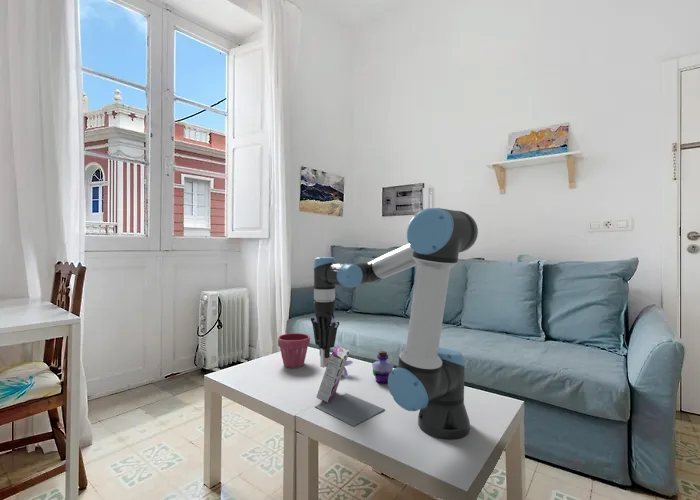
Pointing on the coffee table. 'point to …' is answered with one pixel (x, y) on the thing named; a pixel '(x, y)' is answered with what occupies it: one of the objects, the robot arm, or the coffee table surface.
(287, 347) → the plant pot
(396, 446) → the coffee table surface
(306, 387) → the coffee table surface
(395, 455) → the coffee table surface
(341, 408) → the mat
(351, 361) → the water lily
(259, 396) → the coffee table surface
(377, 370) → the potion bottle
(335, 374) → the candy bar box
